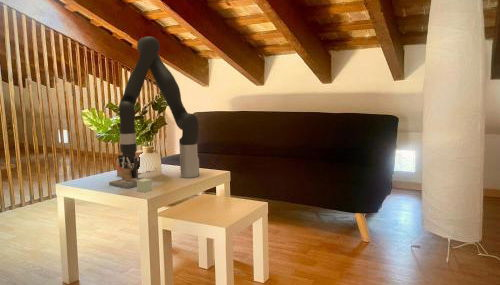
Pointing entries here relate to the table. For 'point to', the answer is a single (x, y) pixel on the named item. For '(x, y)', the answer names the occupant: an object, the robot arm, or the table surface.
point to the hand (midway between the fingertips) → (129, 176)
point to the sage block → (144, 185)
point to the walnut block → (127, 173)
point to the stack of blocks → (128, 164)
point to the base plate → (125, 183)
